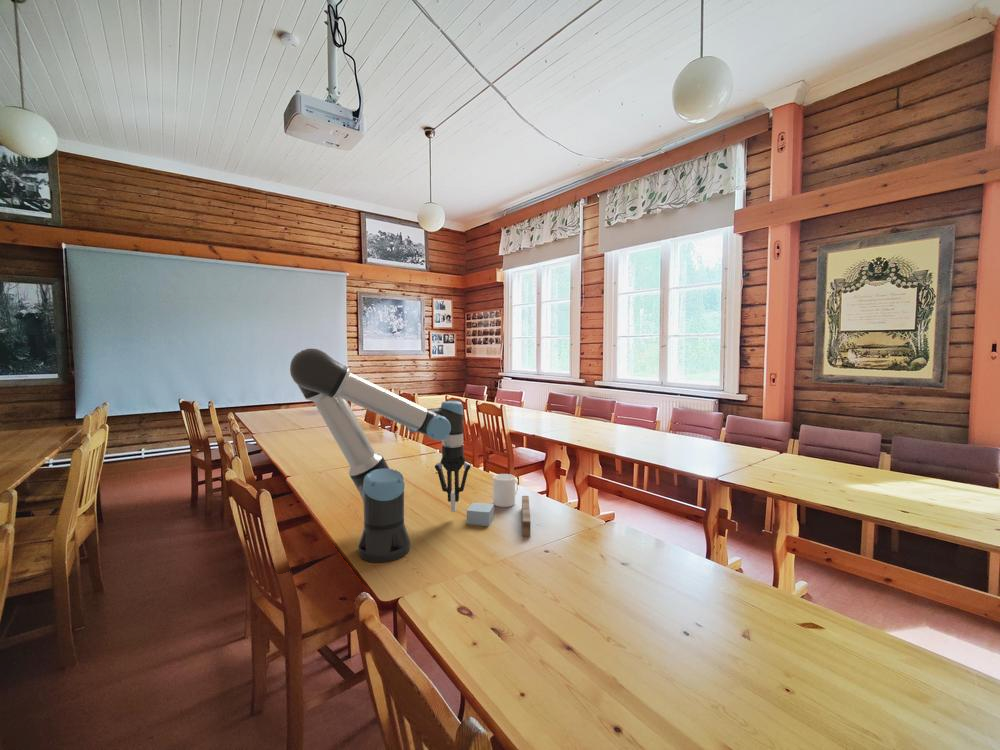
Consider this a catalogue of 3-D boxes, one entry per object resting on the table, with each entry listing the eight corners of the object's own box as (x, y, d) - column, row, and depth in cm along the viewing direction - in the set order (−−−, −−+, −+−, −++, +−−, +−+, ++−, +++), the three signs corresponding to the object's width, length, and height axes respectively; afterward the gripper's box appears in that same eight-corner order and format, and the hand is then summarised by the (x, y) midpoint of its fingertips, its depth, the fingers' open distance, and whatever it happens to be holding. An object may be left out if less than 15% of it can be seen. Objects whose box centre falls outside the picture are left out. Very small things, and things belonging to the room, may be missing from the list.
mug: (525, 501, 170) (525, 475, 169) (503, 509, 161) (503, 481, 161) (510, 496, 176) (510, 470, 175) (488, 503, 168) (488, 476, 167)
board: (530, 536, 138) (530, 521, 138) (522, 536, 138) (522, 520, 138) (528, 508, 162) (528, 495, 162) (521, 508, 162) (521, 495, 162)
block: (489, 526, 146) (489, 512, 146) (466, 524, 148) (466, 510, 148) (494, 517, 154) (494, 504, 154) (472, 515, 156) (472, 502, 155)
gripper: (472, 442, 153) (472, 506, 155) (436, 442, 154) (437, 506, 155) (470, 447, 146) (470, 514, 147) (432, 447, 146) (433, 514, 148)
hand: (453, 510), depth 151 cm, fingers closed
